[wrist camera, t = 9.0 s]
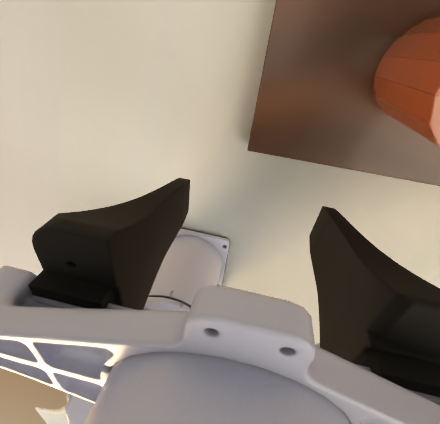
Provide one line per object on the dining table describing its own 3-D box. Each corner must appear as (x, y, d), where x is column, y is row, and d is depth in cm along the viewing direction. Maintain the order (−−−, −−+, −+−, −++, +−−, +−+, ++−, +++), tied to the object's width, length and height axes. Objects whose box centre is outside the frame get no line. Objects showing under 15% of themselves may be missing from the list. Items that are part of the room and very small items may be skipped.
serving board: (491, 188, 20) (506, 198, 19) (248, 144, 21) (247, 150, 20) (715, -63, 12) (766, -75, 10) (296, -104, 13) (299, -119, 12)
